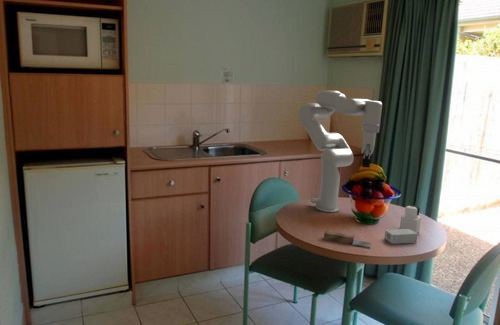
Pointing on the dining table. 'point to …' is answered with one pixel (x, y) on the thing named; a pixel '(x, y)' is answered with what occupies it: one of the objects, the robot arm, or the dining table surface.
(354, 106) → the robot arm
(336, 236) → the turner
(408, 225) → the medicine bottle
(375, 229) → the dining table surface
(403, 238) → the skincare box
